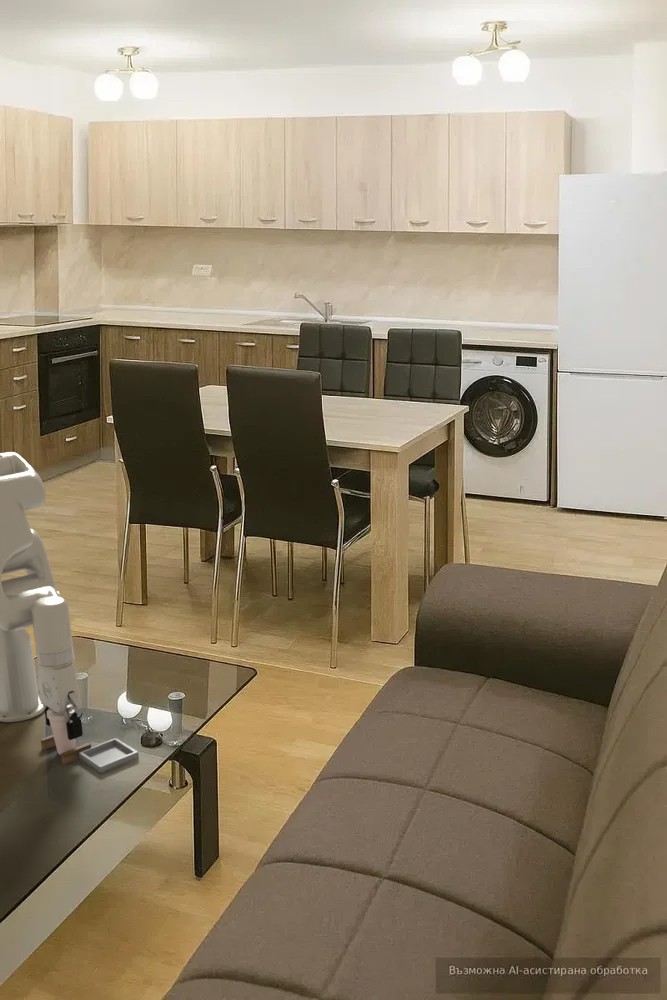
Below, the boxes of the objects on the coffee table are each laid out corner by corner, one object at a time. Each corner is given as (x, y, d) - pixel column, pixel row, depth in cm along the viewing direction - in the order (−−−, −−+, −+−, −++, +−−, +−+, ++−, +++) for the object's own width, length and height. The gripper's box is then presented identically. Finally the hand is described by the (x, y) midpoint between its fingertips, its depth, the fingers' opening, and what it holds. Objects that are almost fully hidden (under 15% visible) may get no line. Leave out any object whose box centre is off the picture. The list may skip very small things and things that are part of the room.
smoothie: (74, 759, 233) (67, 698, 229) (46, 757, 234) (38, 697, 230) (86, 744, 239) (80, 685, 235) (59, 743, 240) (52, 683, 236)
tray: (79, 759, 233) (78, 752, 232) (116, 744, 238) (115, 737, 238) (101, 774, 226) (100, 767, 226) (138, 758, 232) (138, 751, 231)
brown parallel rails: (41, 748, 238) (40, 739, 237) (68, 738, 242) (67, 728, 241) (64, 764, 231) (63, 755, 230) (91, 753, 235) (90, 744, 234)
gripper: (19, 649, 234) (29, 723, 239) (59, 672, 222) (68, 750, 226) (51, 639, 239) (60, 712, 244) (92, 661, 227) (100, 737, 231)
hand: (64, 730), depth 235 cm, fingers open, 9 cm apart
